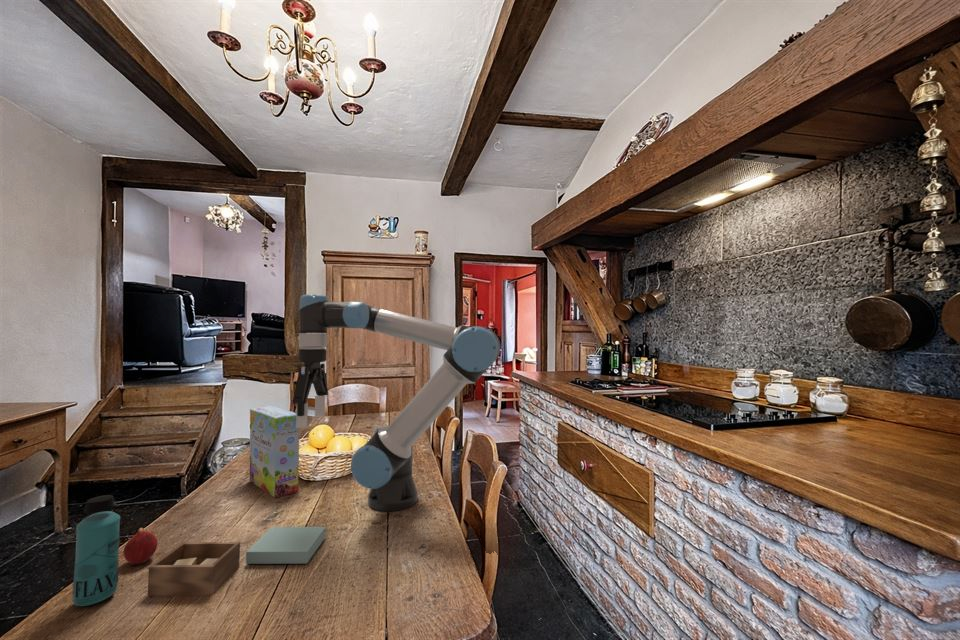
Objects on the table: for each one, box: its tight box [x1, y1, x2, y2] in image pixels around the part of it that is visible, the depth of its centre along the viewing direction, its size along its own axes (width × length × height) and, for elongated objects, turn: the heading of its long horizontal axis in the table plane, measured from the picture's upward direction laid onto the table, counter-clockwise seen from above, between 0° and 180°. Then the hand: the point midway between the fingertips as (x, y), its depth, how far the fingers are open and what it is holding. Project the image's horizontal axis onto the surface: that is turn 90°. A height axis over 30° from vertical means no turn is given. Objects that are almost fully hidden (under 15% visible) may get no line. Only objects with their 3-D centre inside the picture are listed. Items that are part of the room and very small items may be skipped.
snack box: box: [249, 405, 300, 499], centre depth 137 cm, size 22×9×26 cm, turn 49°
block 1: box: [174, 558, 197, 565], centre depth 83 cm, size 4×4×4 cm
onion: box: [123, 527, 158, 565], centre depth 90 cm, size 6×6×8 cm
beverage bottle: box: [71, 494, 121, 607], centre depth 77 cm, size 6×7×20 cm
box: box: [147, 541, 241, 597], centre depth 84 cm, size 12×9×6 cm
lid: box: [245, 526, 327, 565], centre depth 95 cm, size 13×12×4 cm
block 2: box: [200, 558, 219, 565], centre depth 84 cm, size 4×4×4 cm
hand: (311, 422), depth 115 cm, fingers open, 13 cm apart
